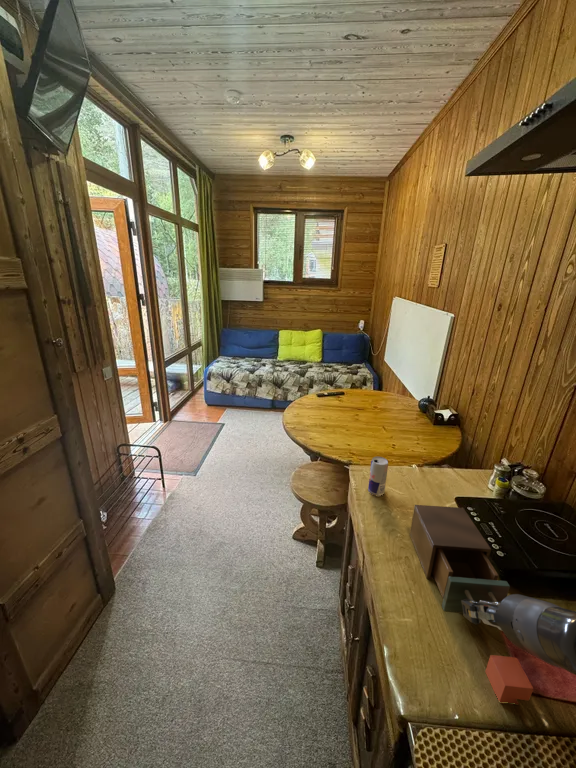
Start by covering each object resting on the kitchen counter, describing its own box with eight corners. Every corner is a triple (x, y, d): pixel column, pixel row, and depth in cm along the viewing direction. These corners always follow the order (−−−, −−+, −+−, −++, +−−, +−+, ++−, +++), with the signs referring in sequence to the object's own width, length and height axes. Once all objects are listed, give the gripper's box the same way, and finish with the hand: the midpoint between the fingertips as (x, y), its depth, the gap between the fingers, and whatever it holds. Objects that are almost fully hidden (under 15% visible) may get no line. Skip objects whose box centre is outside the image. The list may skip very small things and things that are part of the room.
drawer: (513, 638, 60) (523, 607, 57) (452, 632, 60) (460, 601, 58) (471, 564, 75) (478, 537, 73) (423, 560, 76) (428, 534, 74)
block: (510, 674, 55) (516, 657, 53) (526, 706, 51) (533, 688, 49) (485, 671, 55) (490, 654, 54) (499, 703, 51) (505, 685, 50)
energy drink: (366, 486, 106) (369, 455, 102) (382, 487, 106) (385, 456, 102) (369, 496, 101) (373, 464, 97) (386, 497, 100) (390, 465, 97)
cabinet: (482, 583, 72) (491, 549, 69) (426, 578, 72) (433, 545, 69) (456, 538, 85) (463, 507, 81) (409, 534, 85) (414, 504, 82)
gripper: (584, 603, 46) (515, 586, 62) (485, 594, 48) (441, 580, 63) (603, 667, 43) (525, 633, 58) (496, 656, 44) (447, 626, 59)
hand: (482, 606), depth 60 cm, fingers closed on drawer, 5 cm apart
